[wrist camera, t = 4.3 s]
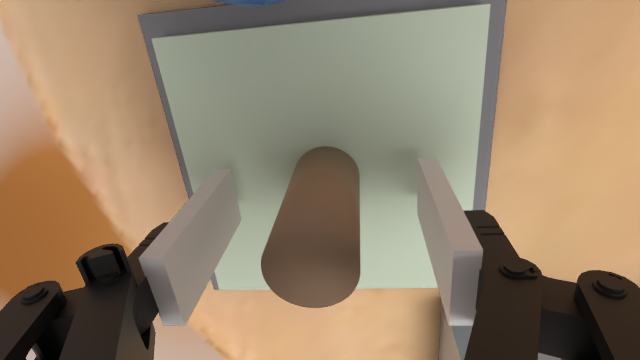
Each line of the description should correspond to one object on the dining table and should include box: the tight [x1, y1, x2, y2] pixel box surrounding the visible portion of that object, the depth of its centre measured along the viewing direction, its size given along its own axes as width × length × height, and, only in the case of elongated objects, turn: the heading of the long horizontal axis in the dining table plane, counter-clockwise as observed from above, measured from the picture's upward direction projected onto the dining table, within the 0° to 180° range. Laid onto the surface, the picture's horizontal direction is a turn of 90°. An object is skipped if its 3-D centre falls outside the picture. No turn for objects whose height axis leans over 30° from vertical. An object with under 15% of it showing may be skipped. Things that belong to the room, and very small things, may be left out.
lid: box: [152, 4, 491, 308], centre depth 16 cm, size 14×14×8 cm
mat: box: [138, 0, 507, 290], centre depth 19 cm, size 16×16×1 cm
